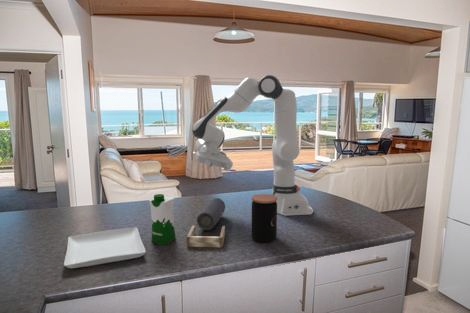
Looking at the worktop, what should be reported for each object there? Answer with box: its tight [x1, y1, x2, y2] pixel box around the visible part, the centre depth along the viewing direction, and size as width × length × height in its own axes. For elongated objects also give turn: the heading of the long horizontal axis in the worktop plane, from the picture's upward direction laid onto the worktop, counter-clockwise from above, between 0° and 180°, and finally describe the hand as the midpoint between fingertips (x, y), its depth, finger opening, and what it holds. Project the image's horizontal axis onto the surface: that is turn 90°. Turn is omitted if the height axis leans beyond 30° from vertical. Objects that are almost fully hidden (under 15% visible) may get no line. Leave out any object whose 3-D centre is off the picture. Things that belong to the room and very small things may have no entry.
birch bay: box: [186, 225, 226, 248], centre depth 136 cm, size 14×13×4 cm
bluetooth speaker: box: [196, 197, 226, 231], centre depth 155 cm, size 23×9×10 cm, turn 170°
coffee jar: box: [251, 193, 278, 244], centre depth 137 cm, size 11×11×18 cm
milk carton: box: [148, 193, 176, 246], centre depth 135 cm, size 9×9×20 cm
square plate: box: [63, 226, 147, 269], centre depth 126 cm, size 27×27×4 cm
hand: (219, 167), depth 160 cm, fingers open, 8 cm apart
